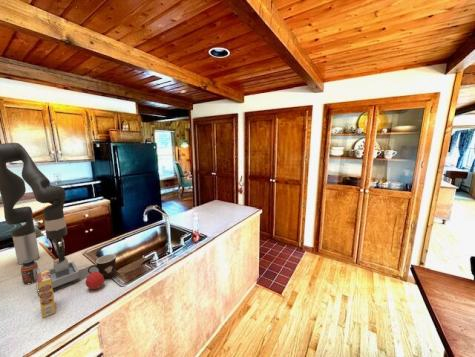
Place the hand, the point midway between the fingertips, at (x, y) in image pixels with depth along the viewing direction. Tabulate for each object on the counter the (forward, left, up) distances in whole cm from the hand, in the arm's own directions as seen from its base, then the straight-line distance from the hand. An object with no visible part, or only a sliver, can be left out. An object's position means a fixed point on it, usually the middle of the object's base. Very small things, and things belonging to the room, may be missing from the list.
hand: (60, 257), depth 98 cm
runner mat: (0, +3, -13) cm, 13 cm away
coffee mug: (+12, +15, -13) cm, 23 cm away
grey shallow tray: (0, -2, -13) cm, 13 cm away
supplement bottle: (-13, -11, -13) cm, 21 cm away
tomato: (+18, +10, -13) cm, 24 cm away
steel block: (0, 0, -10) cm, 10 cm away
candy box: (+19, -7, -13) cm, 24 cm away
